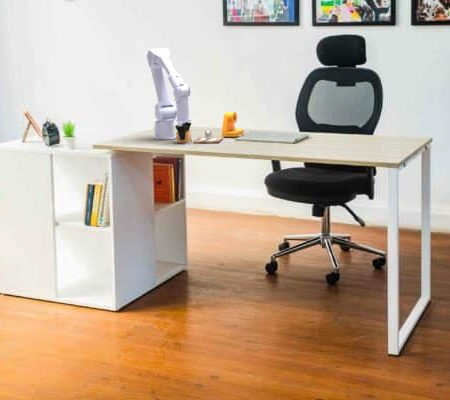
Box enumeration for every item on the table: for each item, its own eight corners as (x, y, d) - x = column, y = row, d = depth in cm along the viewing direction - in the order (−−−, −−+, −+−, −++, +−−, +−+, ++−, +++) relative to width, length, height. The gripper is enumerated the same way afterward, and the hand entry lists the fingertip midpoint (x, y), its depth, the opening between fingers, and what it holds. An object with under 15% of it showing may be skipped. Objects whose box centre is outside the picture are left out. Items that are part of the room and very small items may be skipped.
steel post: (204, 142, 448) (204, 131, 447) (206, 141, 451) (205, 130, 450) (210, 142, 448) (210, 131, 447) (212, 141, 451) (211, 130, 449)
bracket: (235, 138, 457) (234, 113, 454) (222, 137, 460) (221, 113, 457) (244, 134, 466) (243, 110, 463) (231, 134, 469) (230, 110, 466)
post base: (193, 143, 445) (193, 141, 445) (199, 139, 456) (199, 137, 456) (218, 143, 442) (218, 141, 442) (223, 139, 454) (223, 137, 454)
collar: (176, 142, 450) (176, 132, 449) (179, 140, 455) (179, 130, 454) (188, 142, 449) (188, 132, 447) (191, 140, 454) (191, 130, 453)
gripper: (187, 112, 441) (188, 141, 444) (194, 108, 455) (195, 136, 458) (172, 112, 442) (174, 141, 445) (180, 108, 456) (181, 136, 459)
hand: (184, 138), depth 452 cm, fingers closed on collar, 6 cm apart
